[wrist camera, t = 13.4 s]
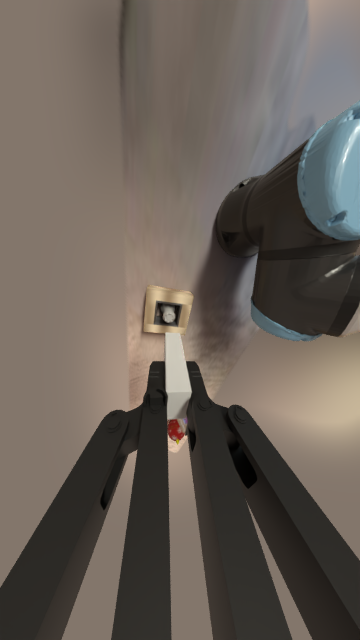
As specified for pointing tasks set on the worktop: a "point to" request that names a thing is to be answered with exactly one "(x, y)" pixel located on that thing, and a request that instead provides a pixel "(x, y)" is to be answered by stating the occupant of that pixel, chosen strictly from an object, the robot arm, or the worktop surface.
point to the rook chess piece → (168, 312)
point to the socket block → (168, 297)
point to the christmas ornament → (175, 431)
